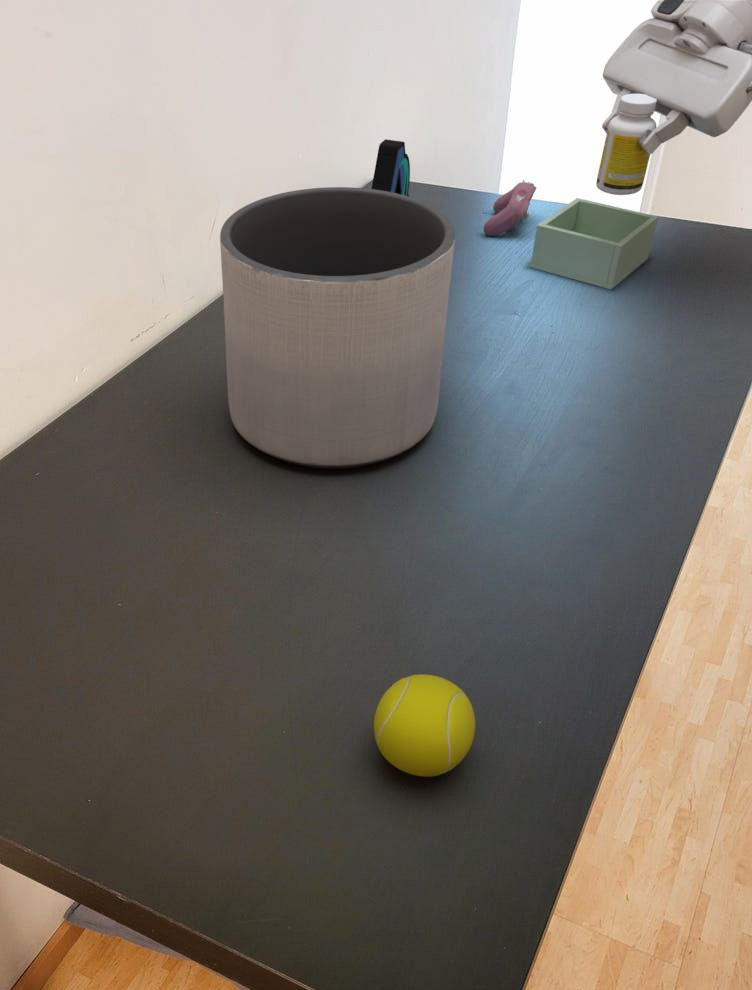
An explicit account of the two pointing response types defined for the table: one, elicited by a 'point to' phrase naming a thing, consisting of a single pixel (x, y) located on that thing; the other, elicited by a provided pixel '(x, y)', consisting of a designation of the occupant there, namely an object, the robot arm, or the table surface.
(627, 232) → the bin
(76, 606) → the table surface
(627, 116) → the supplement bottle
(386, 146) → the decorative sign
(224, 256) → the planter
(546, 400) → the table surface
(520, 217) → the mauve lumpy piece
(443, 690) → the tennis ball
